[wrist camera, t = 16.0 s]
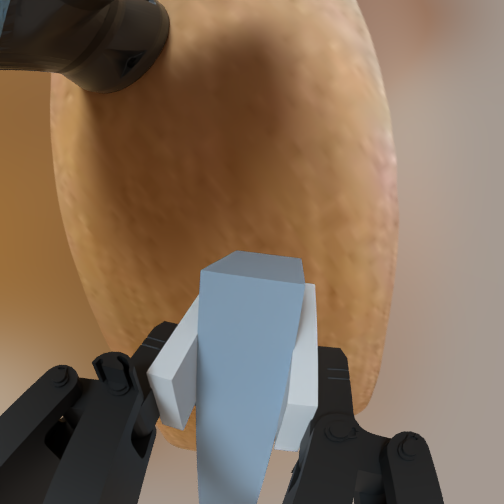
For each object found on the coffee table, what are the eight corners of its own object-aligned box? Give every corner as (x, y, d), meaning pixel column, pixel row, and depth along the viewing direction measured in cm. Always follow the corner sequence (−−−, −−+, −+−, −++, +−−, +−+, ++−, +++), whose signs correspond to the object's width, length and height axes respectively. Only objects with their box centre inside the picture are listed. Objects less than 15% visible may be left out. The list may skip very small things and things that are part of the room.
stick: (236, 250, 13) (200, 269, 8) (301, 258, 12) (305, 284, 7) (217, 491, 16) (202, 534, 11) (253, 498, 15) (243, 543, 10)
